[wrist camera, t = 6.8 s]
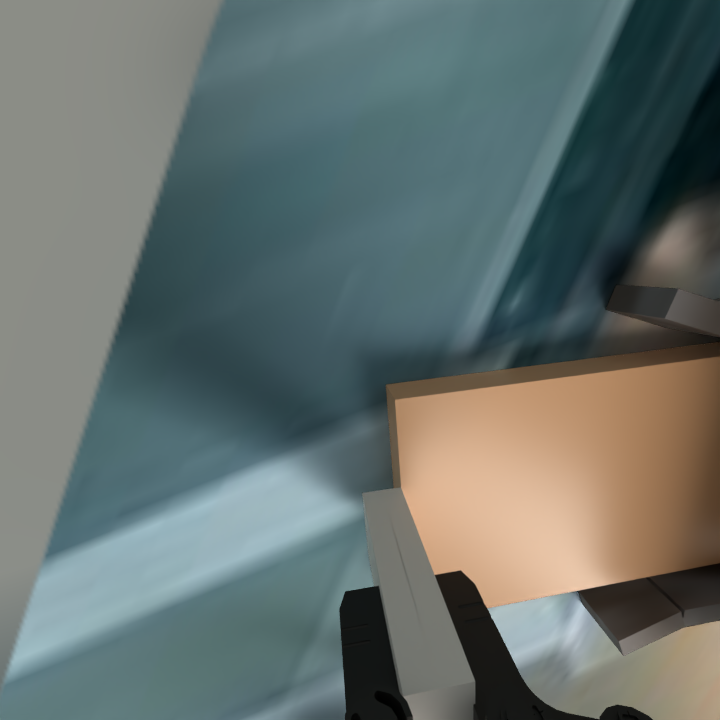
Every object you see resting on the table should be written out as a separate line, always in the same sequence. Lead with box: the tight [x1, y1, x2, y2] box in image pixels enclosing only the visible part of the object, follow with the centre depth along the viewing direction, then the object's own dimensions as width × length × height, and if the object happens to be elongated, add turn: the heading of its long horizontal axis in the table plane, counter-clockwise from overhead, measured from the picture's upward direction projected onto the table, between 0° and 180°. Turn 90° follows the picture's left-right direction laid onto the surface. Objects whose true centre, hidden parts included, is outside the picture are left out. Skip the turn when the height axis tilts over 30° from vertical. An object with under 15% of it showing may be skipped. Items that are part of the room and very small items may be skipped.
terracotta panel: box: [386, 342, 720, 608], centre depth 15 cm, size 16×10×2 cm, turn 95°
